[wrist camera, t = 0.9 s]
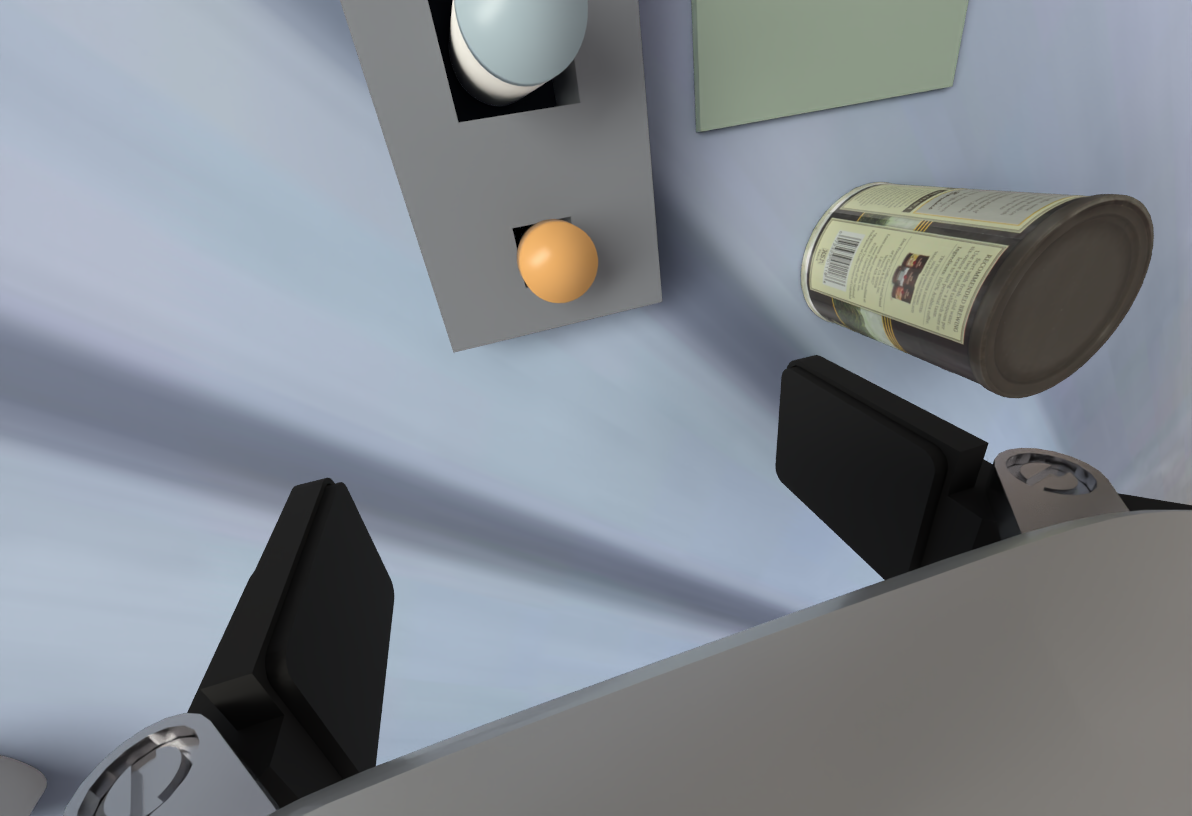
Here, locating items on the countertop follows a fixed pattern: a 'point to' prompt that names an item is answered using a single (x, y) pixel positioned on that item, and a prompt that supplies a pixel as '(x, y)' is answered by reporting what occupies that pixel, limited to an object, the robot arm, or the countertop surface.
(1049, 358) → the coffee can
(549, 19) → the cartridge
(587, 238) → the orange egg
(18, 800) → the lumpy-topped squat cylinder
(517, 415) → the countertop surface
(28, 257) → the countertop surface
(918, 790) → the robot arm
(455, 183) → the block
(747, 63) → the mat
